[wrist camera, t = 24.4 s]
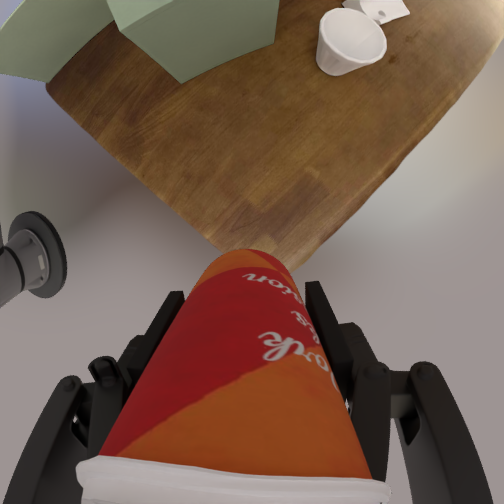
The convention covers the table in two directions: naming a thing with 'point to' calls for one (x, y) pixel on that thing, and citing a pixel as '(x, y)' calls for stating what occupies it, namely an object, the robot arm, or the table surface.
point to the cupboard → (196, 30)
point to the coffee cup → (235, 405)
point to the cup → (348, 41)
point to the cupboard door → (48, 35)
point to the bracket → (378, 9)
